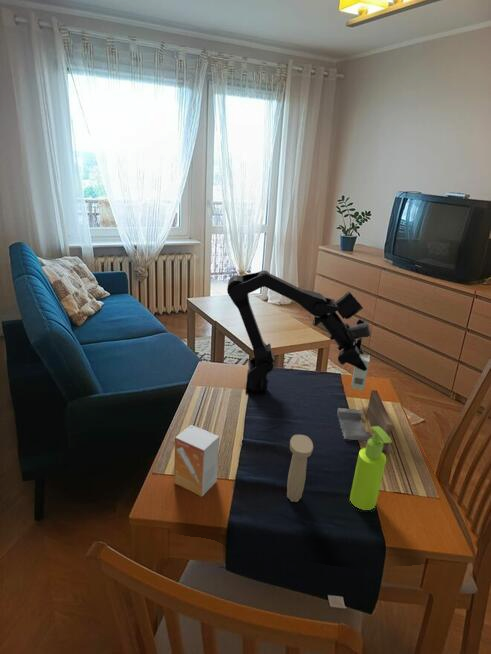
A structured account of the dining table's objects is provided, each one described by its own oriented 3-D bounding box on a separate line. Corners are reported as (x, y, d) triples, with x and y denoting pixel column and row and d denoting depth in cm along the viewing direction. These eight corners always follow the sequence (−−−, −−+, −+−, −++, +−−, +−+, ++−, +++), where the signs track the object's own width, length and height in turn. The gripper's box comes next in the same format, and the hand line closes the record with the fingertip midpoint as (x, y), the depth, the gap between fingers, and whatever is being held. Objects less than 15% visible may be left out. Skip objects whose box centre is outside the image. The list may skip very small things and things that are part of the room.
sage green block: (350, 388, 139) (356, 360, 135) (351, 380, 144) (357, 353, 140) (363, 391, 138) (369, 362, 134) (364, 383, 143) (369, 355, 140)
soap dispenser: (359, 517, 97) (376, 442, 90) (344, 495, 103) (359, 422, 96) (383, 513, 99) (401, 438, 91) (367, 491, 105) (382, 420, 97)
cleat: (344, 439, 123) (345, 433, 123) (337, 413, 136) (338, 407, 135) (369, 442, 123) (370, 436, 123) (359, 415, 136) (360, 409, 135)
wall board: (380, 452, 119) (386, 424, 116) (366, 415, 136) (371, 390, 133) (392, 453, 119) (398, 425, 116) (376, 416, 136) (382, 391, 133)
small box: (173, 483, 102) (174, 437, 98) (189, 468, 108) (191, 423, 103) (201, 498, 99) (204, 450, 94) (217, 481, 104) (220, 435, 99)
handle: (302, 488, 104) (311, 435, 99) (305, 509, 98) (314, 453, 93) (282, 487, 104) (289, 433, 99) (284, 507, 98) (291, 452, 93)
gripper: (356, 323, 125) (388, 366, 127) (359, 304, 142) (388, 342, 143) (324, 344, 130) (356, 384, 131) (331, 323, 147) (359, 359, 148)
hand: (366, 366), depth 138 cm, fingers closed on sage green block, 5 cm apart
